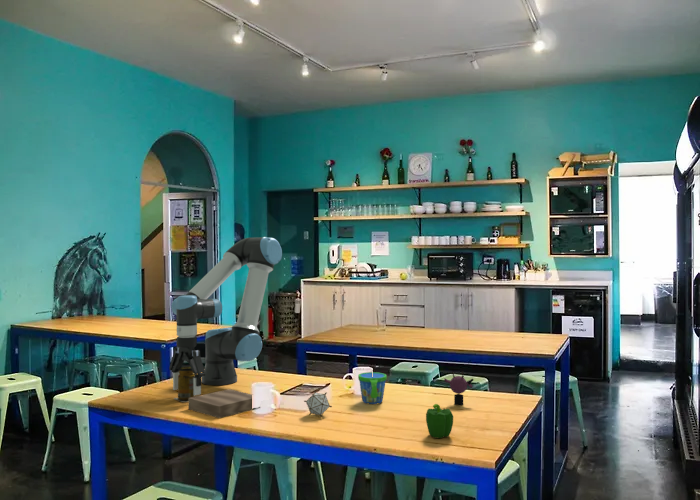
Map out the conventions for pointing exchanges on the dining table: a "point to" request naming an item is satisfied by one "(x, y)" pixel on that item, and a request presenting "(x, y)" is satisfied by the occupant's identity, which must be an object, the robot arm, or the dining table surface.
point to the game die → (318, 403)
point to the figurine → (458, 387)
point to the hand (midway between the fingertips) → (186, 392)
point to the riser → (221, 403)
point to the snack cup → (372, 387)
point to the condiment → (185, 384)
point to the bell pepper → (439, 421)
